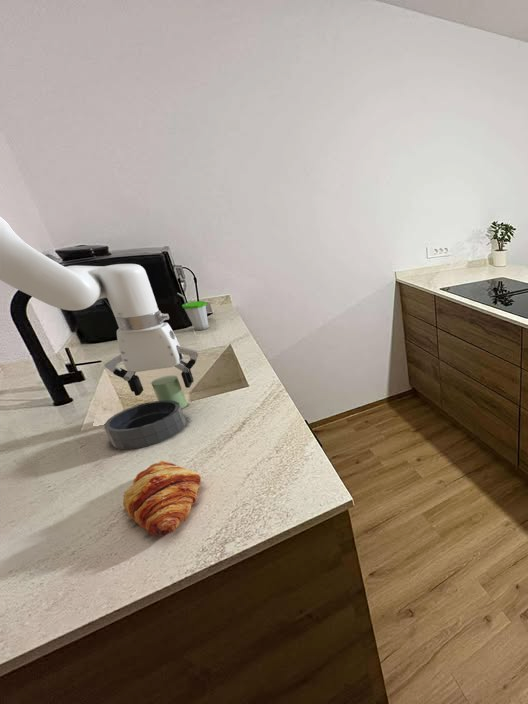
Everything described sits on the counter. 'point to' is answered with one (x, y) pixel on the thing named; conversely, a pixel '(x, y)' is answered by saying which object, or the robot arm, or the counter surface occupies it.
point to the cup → (196, 313)
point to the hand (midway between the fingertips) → (165, 389)
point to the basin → (145, 424)
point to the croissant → (161, 497)
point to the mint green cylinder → (169, 390)
